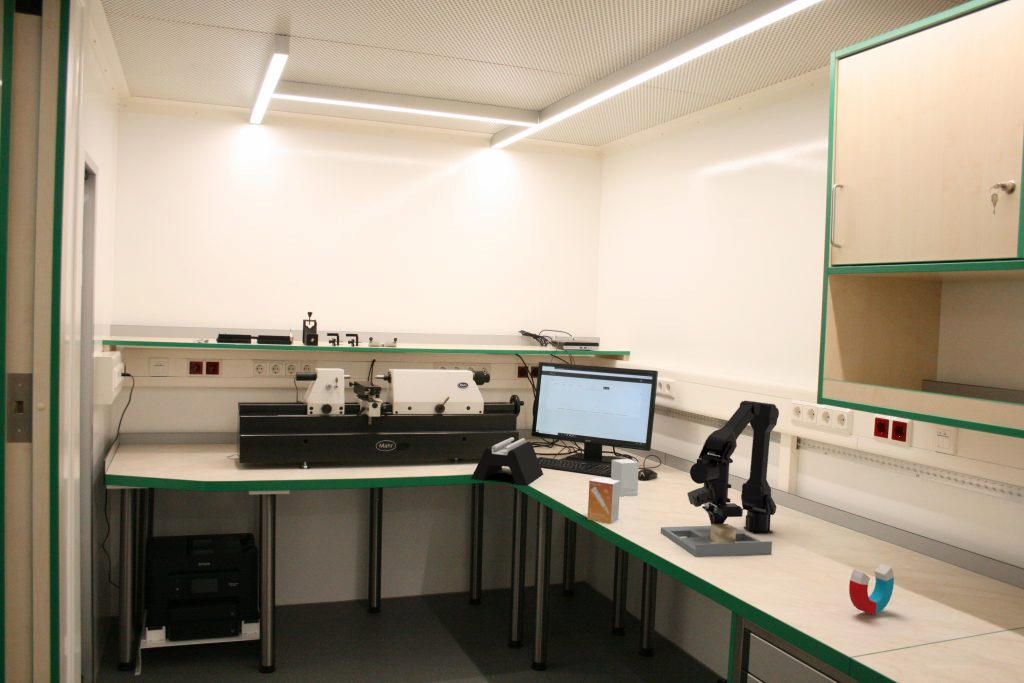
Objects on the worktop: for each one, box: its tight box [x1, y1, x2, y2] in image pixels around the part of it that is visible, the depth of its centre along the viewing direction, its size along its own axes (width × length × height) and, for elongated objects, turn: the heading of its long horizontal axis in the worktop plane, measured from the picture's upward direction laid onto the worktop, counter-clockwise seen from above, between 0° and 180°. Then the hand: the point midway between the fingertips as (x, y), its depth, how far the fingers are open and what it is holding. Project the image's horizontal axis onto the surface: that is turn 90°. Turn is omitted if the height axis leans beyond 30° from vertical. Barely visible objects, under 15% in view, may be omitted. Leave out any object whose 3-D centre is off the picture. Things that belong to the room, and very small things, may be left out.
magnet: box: [848, 563, 895, 615], centre depth 169 cm, size 12×3×10 cm, turn 118°
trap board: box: [660, 524, 773, 558], centre depth 218 cm, size 22×23×4 cm
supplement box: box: [610, 458, 640, 498], centre depth 273 cm, size 7×7×13 cm
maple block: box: [710, 523, 737, 543], centre depth 212 cm, size 5×5×4 cm
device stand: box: [470, 436, 544, 487], centre depth 291 cm, size 22×22×15 cm
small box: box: [587, 477, 620, 525], centre depth 237 cm, size 8×6×13 cm
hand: (715, 533), depth 217 cm, fingers closed
